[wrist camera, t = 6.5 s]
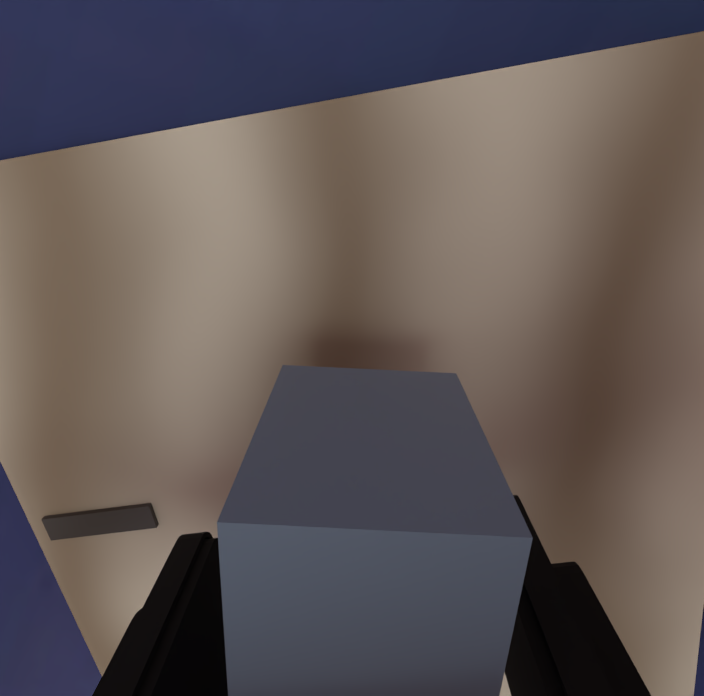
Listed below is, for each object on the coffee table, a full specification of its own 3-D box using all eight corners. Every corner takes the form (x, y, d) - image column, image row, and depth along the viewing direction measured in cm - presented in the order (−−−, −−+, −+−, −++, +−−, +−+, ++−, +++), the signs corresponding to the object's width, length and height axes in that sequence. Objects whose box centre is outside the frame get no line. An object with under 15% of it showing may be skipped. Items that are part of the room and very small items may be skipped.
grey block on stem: (300, 321, 11) (212, 533, 4) (434, 327, 11) (538, 549, 4) (298, 622, 14) (244, 1000, 8) (403, 627, 14) (436, 1011, 8)
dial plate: (712, 40, 10) (774, 17, 9) (664, 651, 16) (696, 702, 15) (-71, 183, 12) (-138, 184, 10) (152, 699, 18) (132, 750, 16)
